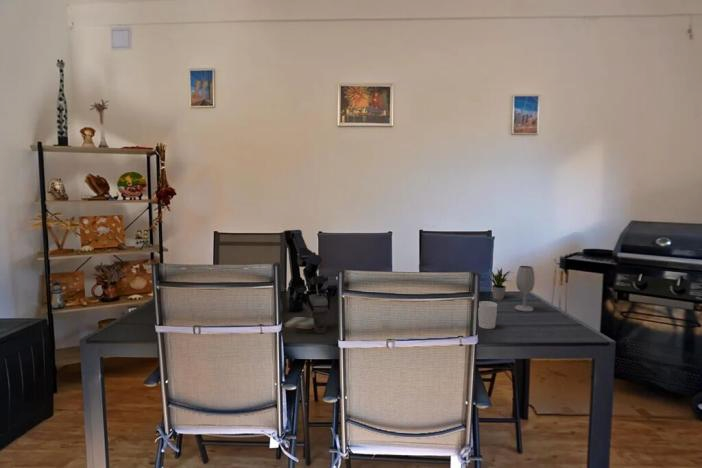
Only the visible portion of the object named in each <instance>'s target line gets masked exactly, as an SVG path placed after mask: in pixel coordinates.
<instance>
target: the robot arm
mask: <svg viewBox="0 0 702 468" xmlns="http://www.w3.org/2000/svg"><path fill="white" fill-rule="evenodd" d="M281 239H282V240H283V244H284V246H285V247H286V249H287V253H288V261H289V262H288V263H289V271H290V280H289V281H288V287H287V289H286V292H285V293H286V298H287V299H288V304H289V305H288V306H289V307H288V309H287V311H289V312H299V313H300V312H302V311H304V309H305V306H306V307H307V309H308V310H310V312H312V311H313V308H312V304H311V302H312V301H311V298H310V296H313V295H315V296H316V295H317V289H316V284H317V288H318V295H324V296H325V297H326V299H327V301H328V309H327V310H330V308H331V298H332V297H335V296H336V295H337V293H338V291H339V287H338V284H328V285H327V286H326V288H324V284H325V283H327V282H328V281H329V276H328V273H322V275H318V271H319V269H320V267H321V264H322V261H323V258H322V257H321V256H320V255H318V254H316V252H313V251H312V250H311V249H309V248H308V246H307V244H306V242H305V239H304V237H303V231H302V230H301V229H289V230H284V231H283V232H282V235H281ZM300 268H303V269H302V275H303V277H304V279H303V278H302V276H301V269H300Z"/></svg>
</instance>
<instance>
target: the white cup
mask: <svg viewBox="0 0 702 468" xmlns="http://www.w3.org/2000/svg"><path fill="white" fill-rule="evenodd" d="M497 311H498V304H497V303H496V302H494V301H490V300H489V301H487V300H485V301H482V300H481V301H479V308H478V307H477V315H478V317H477V319H478V327H479V328H482V329H487V330H492V329H495V328H496V321H497V316H498V315H497V313H498V312H497Z"/></svg>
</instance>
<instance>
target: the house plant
mask: <svg viewBox="0 0 702 468" xmlns="http://www.w3.org/2000/svg"><path fill="white" fill-rule="evenodd" d="M496 268H497V269H496V270H497V273H496V274H495V273H494V272H493V271H492V270H491V269H488V271H489V274H490V275H491V276H492V279H491V278H489V279H488V281H491V282H492V283H493V285H491V288H492V289H491V290H492V296H493V299H496V300H503V299H504V298H505V294H506V293H505V292H506V288H507V286H505V285H504V284H505V283H506V284H507V283H508V282H511V281H513V280H512V279H511V280H508V278H509V276H508V275H509V274H511V273H515V272H512V271H511V270H508V271H507V272H506V273H504V274H503V267H501V268H500V269H499V268H498V267H496ZM511 283H512V282H511Z"/></svg>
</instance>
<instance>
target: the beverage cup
mask: <svg viewBox="0 0 702 468" xmlns="http://www.w3.org/2000/svg"><path fill="white" fill-rule="evenodd" d="M316 289H317V294H315V296H313V298H312V299H311V301H310V302H311V304H312V308H313V311H311V313H312V318H313V322H314V327H313V328H314V333H316V334H323V333H326V329H327V316H328V315H327V314H328V310H329V309H328V301H327V299H326V297H325V295H324V294H318V288H317V284H316Z"/></svg>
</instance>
